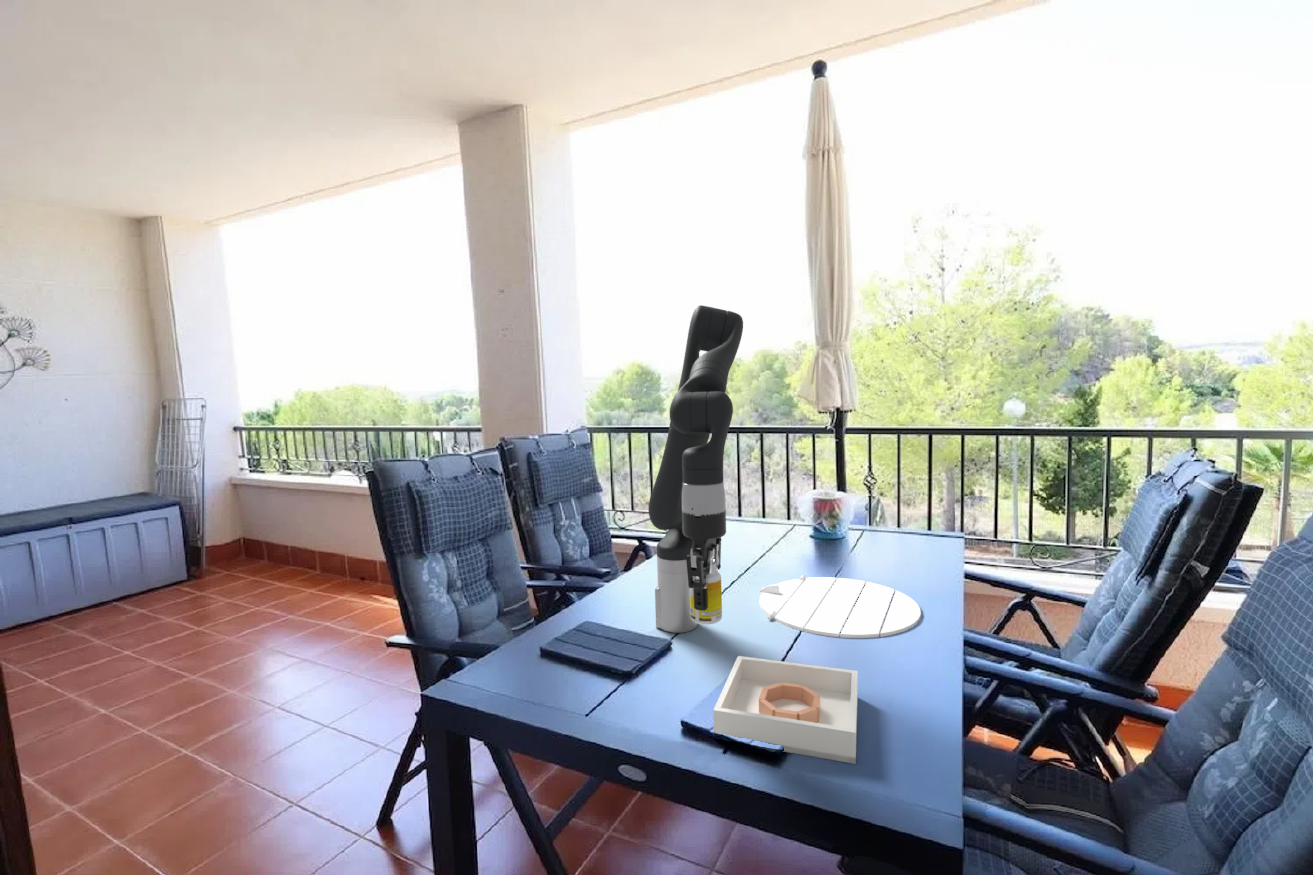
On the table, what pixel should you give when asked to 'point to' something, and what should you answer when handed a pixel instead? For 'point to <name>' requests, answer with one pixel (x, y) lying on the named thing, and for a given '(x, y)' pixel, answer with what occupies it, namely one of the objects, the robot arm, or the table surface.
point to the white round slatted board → (839, 607)
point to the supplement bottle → (709, 600)
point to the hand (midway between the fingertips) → (705, 602)
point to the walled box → (791, 707)
